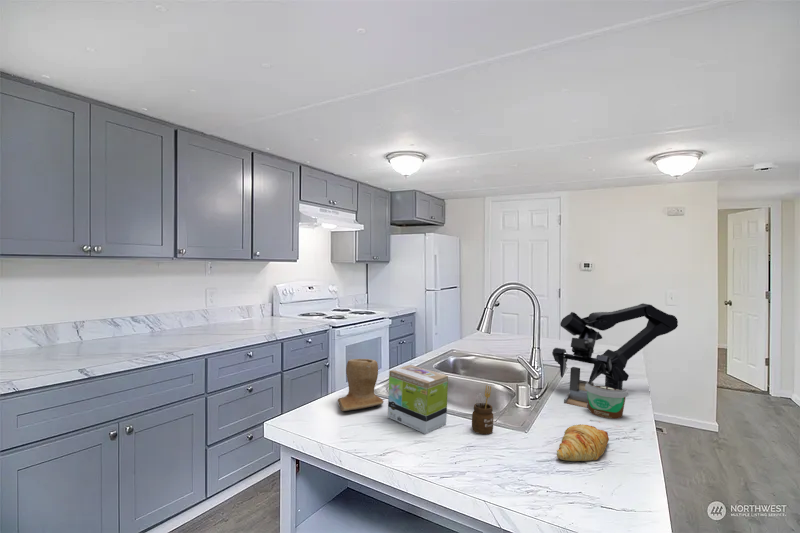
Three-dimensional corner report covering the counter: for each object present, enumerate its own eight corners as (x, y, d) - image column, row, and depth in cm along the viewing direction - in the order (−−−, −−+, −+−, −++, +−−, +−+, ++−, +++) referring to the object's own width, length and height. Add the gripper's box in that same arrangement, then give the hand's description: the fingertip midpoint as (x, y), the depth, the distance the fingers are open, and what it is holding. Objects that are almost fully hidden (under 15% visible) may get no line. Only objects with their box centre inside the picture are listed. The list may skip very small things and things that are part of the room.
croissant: (568, 482, 96) (585, 459, 92) (536, 447, 103) (550, 425, 99) (613, 456, 108) (629, 435, 105) (582, 427, 115) (596, 406, 112)
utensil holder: (467, 431, 114) (469, 388, 114) (478, 423, 119) (479, 383, 119) (487, 437, 110) (488, 393, 110) (496, 429, 115) (498, 387, 115)
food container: (582, 418, 125) (583, 386, 125) (583, 411, 131) (584, 381, 131) (627, 427, 120) (629, 393, 119) (627, 420, 125) (628, 388, 125)
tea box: (386, 419, 121) (387, 369, 120) (408, 410, 128) (410, 363, 128) (425, 435, 110) (427, 381, 110) (447, 424, 118) (449, 374, 117)
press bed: (571, 393, 149) (572, 378, 148) (595, 398, 144) (596, 382, 144) (563, 406, 135) (564, 389, 135) (589, 412, 131) (589, 394, 131)
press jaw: (570, 396, 141) (571, 366, 140) (588, 400, 138) (590, 369, 137) (569, 398, 138) (570, 368, 138) (587, 402, 135) (588, 371, 135)
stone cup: (371, 396, 139) (372, 353, 139) (387, 408, 129) (389, 361, 129) (329, 403, 132) (330, 357, 131) (343, 416, 121) (344, 366, 121)
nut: (576, 393, 145) (576, 382, 145) (588, 395, 143) (589, 384, 143) (574, 396, 142) (574, 385, 142) (586, 399, 140) (587, 387, 140)
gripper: (554, 325, 148) (542, 361, 140) (611, 332, 136) (601, 372, 128) (561, 343, 154) (549, 378, 146) (615, 352, 142) (606, 391, 134)
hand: (575, 379), depth 138 cm, fingers open, 9 cm apart
